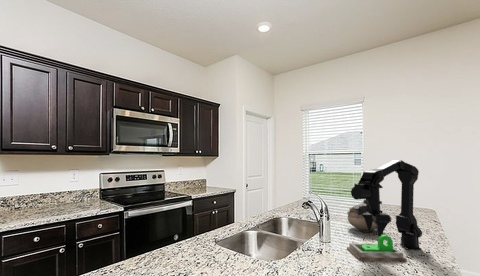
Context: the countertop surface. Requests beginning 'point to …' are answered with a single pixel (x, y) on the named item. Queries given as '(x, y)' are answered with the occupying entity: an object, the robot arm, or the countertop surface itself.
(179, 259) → the countertop surface
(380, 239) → the mechanical part
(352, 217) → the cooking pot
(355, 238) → the countertop surface
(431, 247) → the countertop surface
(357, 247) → the keyed nest
